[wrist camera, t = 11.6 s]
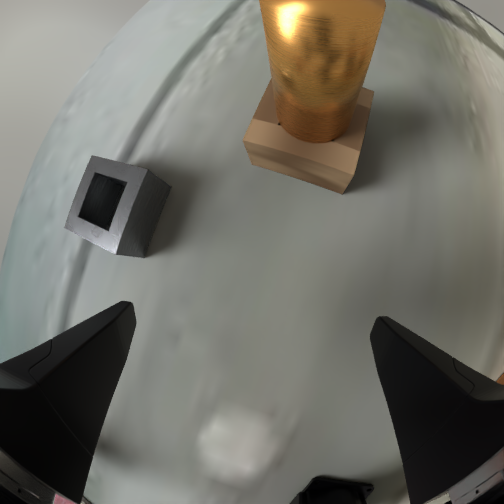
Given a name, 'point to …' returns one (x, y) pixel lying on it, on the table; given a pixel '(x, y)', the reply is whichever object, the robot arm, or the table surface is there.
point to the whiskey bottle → (501, 380)
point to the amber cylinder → (319, 61)
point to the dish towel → (64, 503)
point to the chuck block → (128, 211)
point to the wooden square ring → (307, 146)
